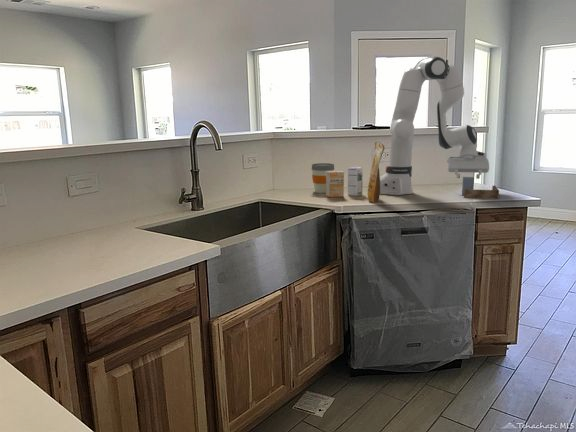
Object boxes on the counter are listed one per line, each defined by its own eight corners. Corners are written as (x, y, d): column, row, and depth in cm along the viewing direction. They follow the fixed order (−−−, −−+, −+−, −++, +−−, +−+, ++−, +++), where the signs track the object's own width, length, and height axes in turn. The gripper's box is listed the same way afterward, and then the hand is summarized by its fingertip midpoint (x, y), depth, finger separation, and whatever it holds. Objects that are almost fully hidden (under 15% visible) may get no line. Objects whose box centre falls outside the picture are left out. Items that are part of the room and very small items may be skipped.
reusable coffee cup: (338, 192, 249) (338, 164, 245) (317, 193, 244) (317, 166, 241) (328, 189, 260) (328, 162, 257) (308, 190, 255) (307, 163, 252)
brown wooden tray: (464, 197, 226) (464, 189, 225) (462, 192, 242) (463, 184, 241) (498, 198, 222) (499, 190, 221) (494, 193, 237) (495, 185, 236)
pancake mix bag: (380, 196, 233) (381, 141, 227) (383, 203, 214) (384, 143, 208) (366, 196, 234) (367, 141, 228) (368, 203, 215) (369, 143, 209)
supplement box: (329, 197, 232) (329, 172, 229) (325, 196, 236) (325, 171, 233) (344, 196, 234) (344, 171, 231) (340, 195, 238) (340, 170, 236)
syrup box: (357, 196, 236) (357, 168, 233) (347, 195, 239) (347, 167, 236) (362, 194, 240) (362, 166, 237) (352, 193, 244) (352, 166, 241)
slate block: (462, 195, 232) (463, 178, 230) (461, 194, 237) (462, 176, 235) (472, 195, 231) (474, 178, 229) (472, 194, 235) (473, 177, 233)
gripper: (447, 153, 243) (447, 173, 236) (489, 153, 237) (490, 174, 230) (447, 160, 248) (446, 180, 241) (487, 161, 242) (488, 181, 235)
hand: (468, 177), depth 235 cm, fingers open, 8 cm apart
